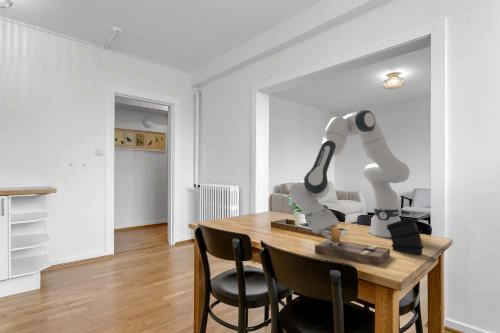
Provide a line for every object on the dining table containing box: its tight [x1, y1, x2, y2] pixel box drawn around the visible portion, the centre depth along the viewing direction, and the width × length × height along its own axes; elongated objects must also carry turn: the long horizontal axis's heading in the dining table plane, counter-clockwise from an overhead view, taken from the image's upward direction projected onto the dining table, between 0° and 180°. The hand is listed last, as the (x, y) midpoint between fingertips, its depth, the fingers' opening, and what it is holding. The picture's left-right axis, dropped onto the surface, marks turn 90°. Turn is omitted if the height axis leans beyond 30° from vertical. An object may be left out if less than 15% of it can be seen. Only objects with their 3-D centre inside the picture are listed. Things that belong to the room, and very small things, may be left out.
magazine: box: [387, 216, 424, 256], centre depth 119 cm, size 4×13×15 cm, turn 42°
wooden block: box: [330, 227, 341, 246], centre depth 121 cm, size 4×4×10 cm
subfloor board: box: [314, 239, 391, 266], centre depth 116 cm, size 14×26×3 cm, turn 50°
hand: (335, 236), depth 121 cm, fingers open, 8 cm apart
